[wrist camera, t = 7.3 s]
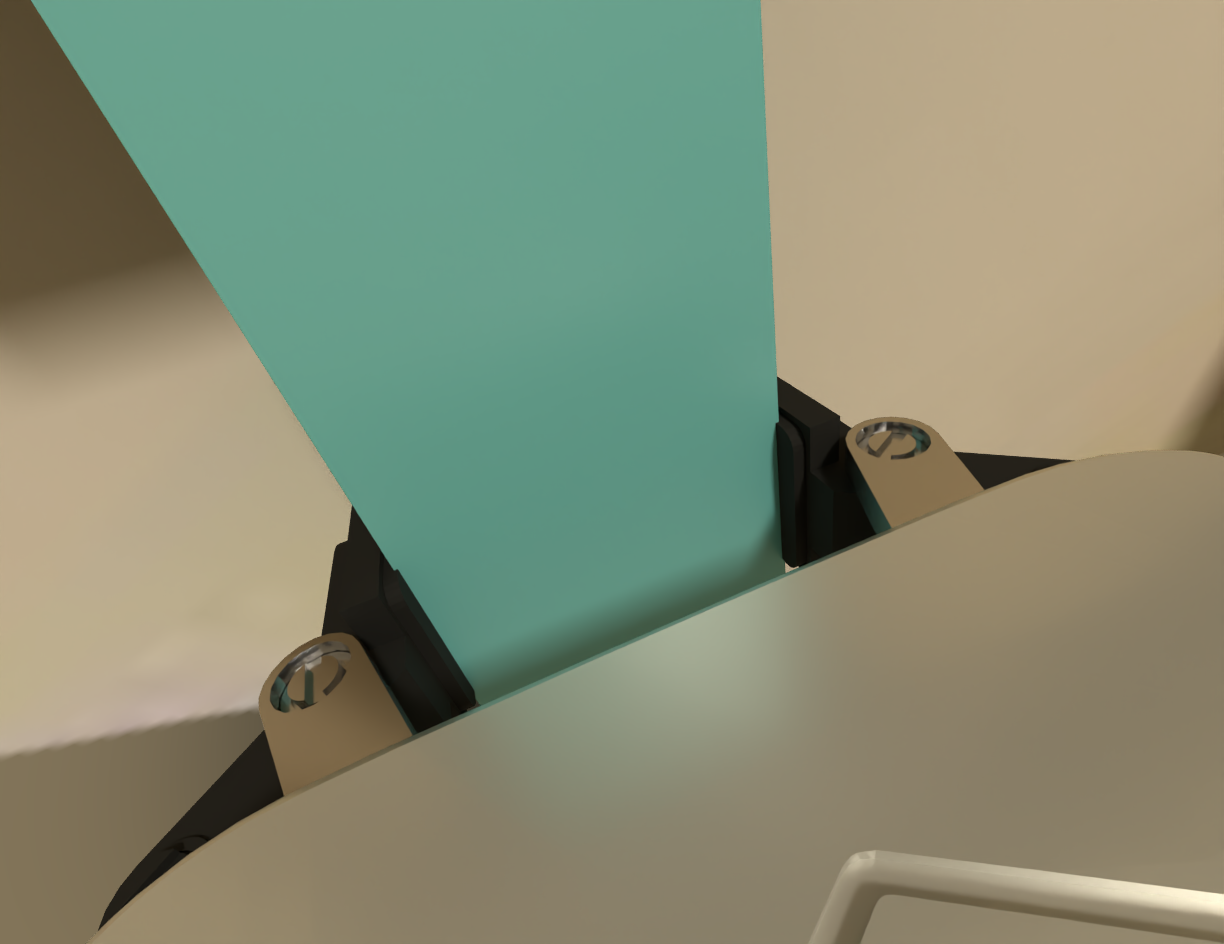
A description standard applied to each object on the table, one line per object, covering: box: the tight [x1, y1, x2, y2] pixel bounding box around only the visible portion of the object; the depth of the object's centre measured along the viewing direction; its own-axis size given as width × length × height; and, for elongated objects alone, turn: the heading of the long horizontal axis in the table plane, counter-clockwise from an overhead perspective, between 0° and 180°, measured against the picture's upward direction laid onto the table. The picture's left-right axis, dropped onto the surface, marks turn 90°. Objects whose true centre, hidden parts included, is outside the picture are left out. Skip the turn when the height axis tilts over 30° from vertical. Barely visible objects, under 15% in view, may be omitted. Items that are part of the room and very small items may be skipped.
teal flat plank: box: [31, 0, 785, 706], centre depth 9 cm, size 6×18×4 cm, turn 13°
